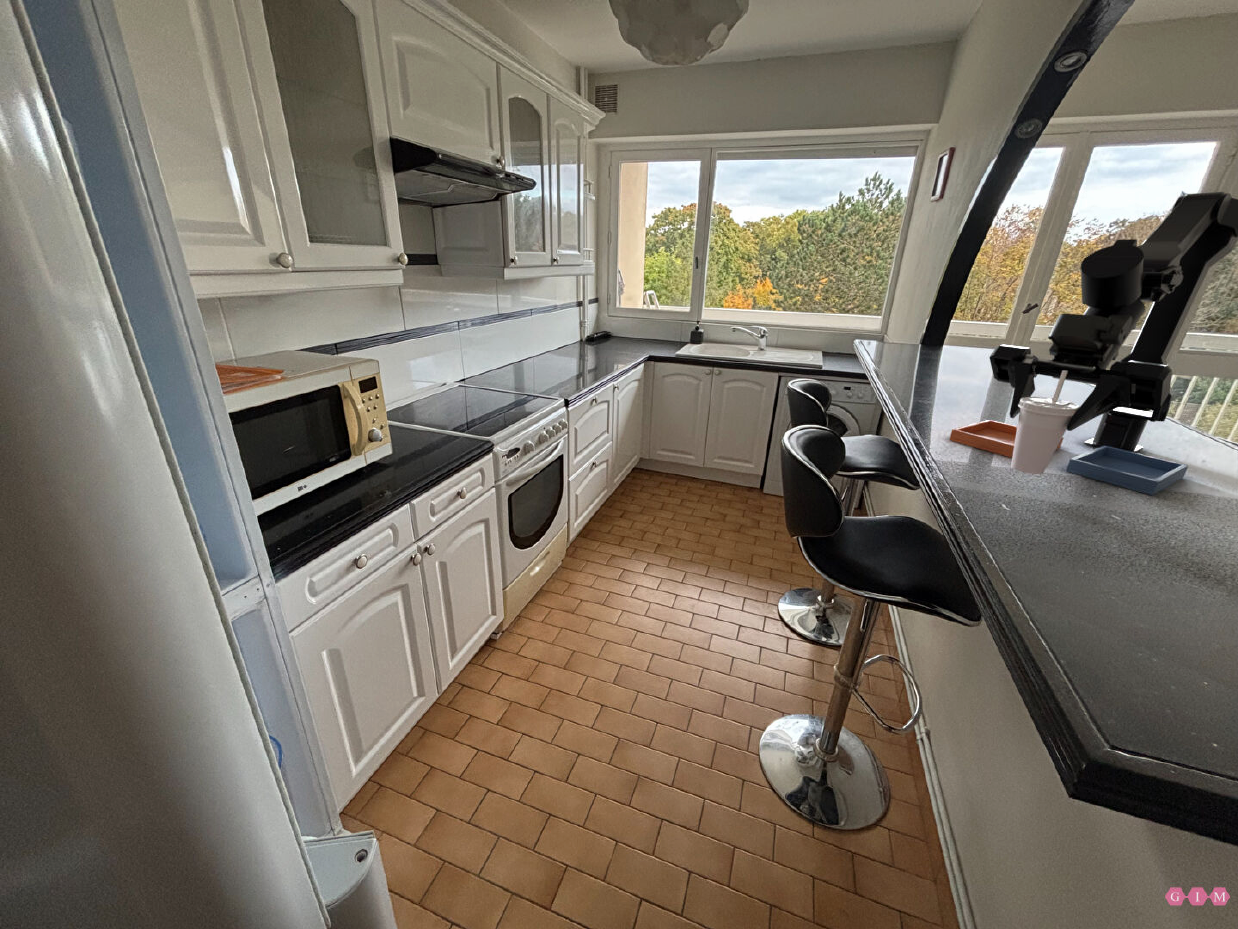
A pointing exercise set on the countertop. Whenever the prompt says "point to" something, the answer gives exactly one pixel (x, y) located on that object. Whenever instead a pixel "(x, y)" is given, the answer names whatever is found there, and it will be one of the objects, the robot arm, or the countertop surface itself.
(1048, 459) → the smoothie
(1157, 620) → the countertop surface
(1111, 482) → the blue tray
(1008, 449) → the orange tray
